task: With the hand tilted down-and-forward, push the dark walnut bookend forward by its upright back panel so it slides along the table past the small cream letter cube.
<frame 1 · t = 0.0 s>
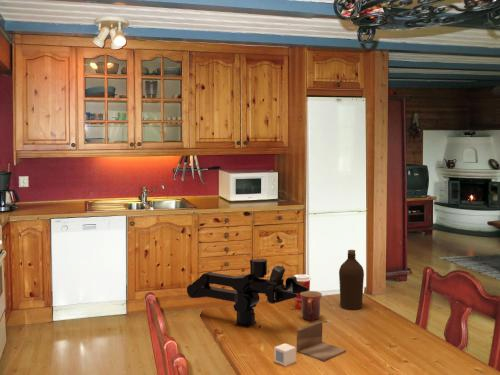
hand: (302, 292, 201), 17 cm above the table, tool horizontal, fingers open, 9 cm apart
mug: (310, 320, 221), on the table
olive oil: (351, 307, 236), on the table
paper cup: (302, 308, 236), on the table
letter cube: (285, 361, 180), on the table
bookend: (308, 347, 192), on the table
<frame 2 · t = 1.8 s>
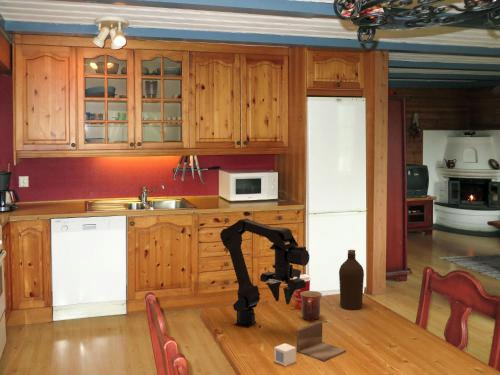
hand: (282, 302, 204), 12 cm above the table, tool pointing down, fingers open, 5 cm apart
nothing on the table moved.
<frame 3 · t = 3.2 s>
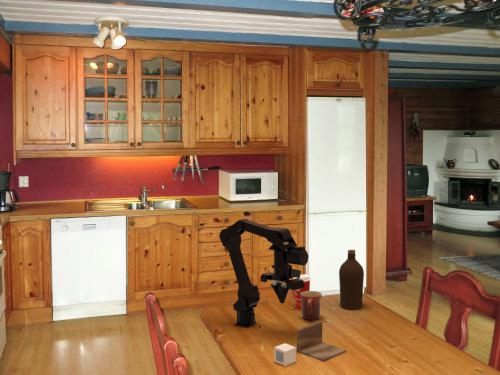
hand: (282, 303, 204), 12 cm above the table, tool pointing down, fingers closed
nothing on the table moved.
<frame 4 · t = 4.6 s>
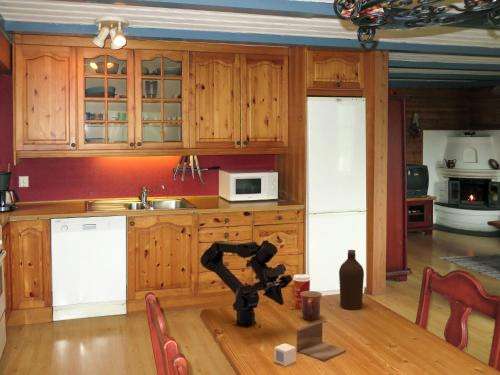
hand: (282, 304, 200), 13 cm above the table, tool tilted 45°, fingers closed
nothing on the table moved.
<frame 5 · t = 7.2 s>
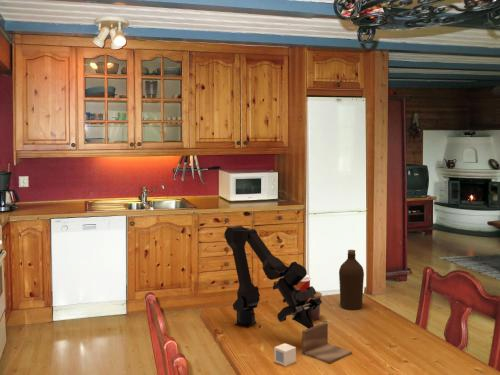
hand: (312, 329, 190), 7 cm above the table, tool tilted 45°, fingers closed, pressing on bookend
bookend: (313, 348, 190), on the table, touching gripper
everything else where it was.
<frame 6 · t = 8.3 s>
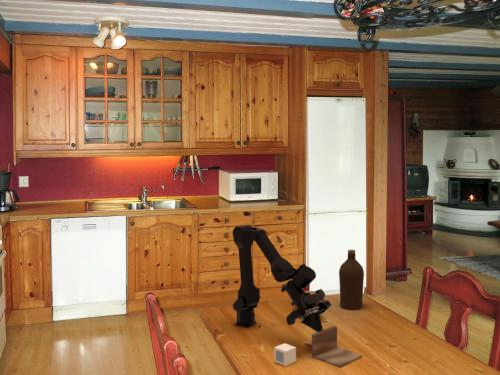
hand: (322, 333, 187), 7 cm above the table, tool tilted 45°, fingers closed, pressing on bookend
bookend: (323, 352, 187), on the table, touching gripper
everything else where it was.
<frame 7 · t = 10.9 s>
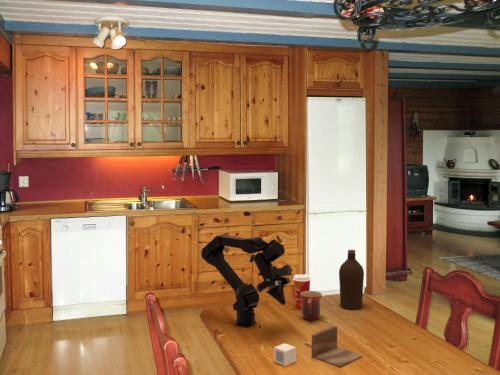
hand: (284, 304, 201), 12 cm above the table, tool tilted 35°, fingers closed
bookend: (323, 352, 187), on the table
everything else where it was.
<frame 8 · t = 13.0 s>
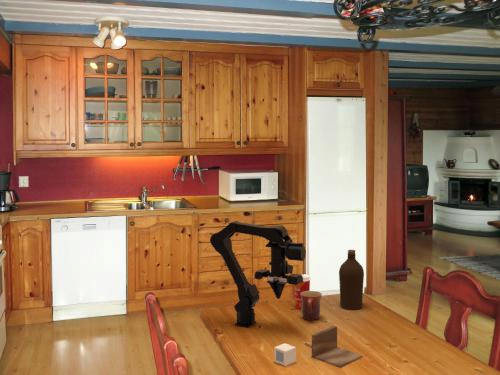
hand: (278, 298, 209), 12 cm above the table, tool pointing down, fingers closed
nothing on the table moved.
at the end: bookend inside the target area (2.8 cm from its centre), on the table; bookend tilted 0°; bookend moved 6.6 cm from its start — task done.
